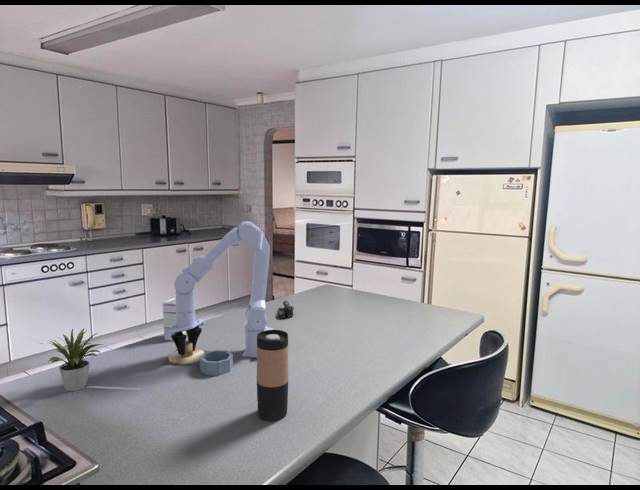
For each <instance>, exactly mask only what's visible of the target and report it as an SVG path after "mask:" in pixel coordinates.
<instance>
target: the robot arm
mask: <svg viewBox="0 0 640 490" xmlns="http://www.w3.org/2000/svg"><path fill="white" fill-rule="evenodd" d="M241 242H243V243H245V244H247V245H248V246H250V248H252V249H253V250H254V259H253V271H252V281H251V291H250V292H251V293H250V299H249V302H248V303H249V304H248V306H247V308H246V310H245V318H246V320H247V323H246V324H245V327H244V328H245V329H244V330H245V331H244V332H245V333H244V335H245V338H244V339H245V340H244V341H245V343H244V344H245V350H244V352H243V353H242V354H241V356H242V357H250V358H256V359H257V334H258V333H260V332H262V331H266V330H275V328H274V327H270V326H269V327H268V317H267V313H266V310H267V309H266V295H267V284H268V273H269V264H270V256H271V254H270V253H271V247H270V244H269V242H268V241H267V239H266V237H265V235H264V233H263V231H262V230H261V229H260V228H259V227H258V226H257V225H256V224H255V223H253V222H252V221H249V220H243V221H241V222H240V223H239V224H238V226H235V227H233V228H232V229H231V230H230V231H228V232H227V233H226V234H225V235H224V236H223V237H222V238H221V239H220V240H219V241H218V242H217V243H216V244H215V246H214V247H212V248H211V250H209V251H208V253H206V254H205V255H203V254H201V255H199V256H195V257H194V258H193V259H192V262H191V263H190V264H189V265H188V266H186V268H182V270H181V273H179V274H177V276H176V277H175V280H174V288H175V298H176V325H174V326H172V327H170V328H169V329H166V330H164V329H163V333H164V332H165V336H166V337H171V338H172V339H173V340H172V342H174V344H175V348H176V350H178V354H180V355H184V354H185V341H191V342H192V345H193V351H195V349H196V347H197V343H198V339H199V337H200V335H201V334H202V331H203V329H202V328H201V326H206V324H207V320H206V318H203V317H201V318H198V319H197V318H196V300H195V299H196V297H195V293H194V289H195V284H196V283H199V282H200V281H201V280H203V278H204V277H206V276H207V275H208V274H209V272H211V271H212V270H213V269H214V263H215V262H216V260H218V259H219V258H220V257H221V256H222V255H223V254H224V253H225V252H226V251H227V250H229V249H230V248H231V247H232V246H237V245H241V244H242V243H241ZM183 331H186V332H187V335H184V334H183V333H182V332H183Z"/></svg>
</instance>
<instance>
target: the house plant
mask: <svg viewBox="0 0 640 490" xmlns="http://www.w3.org/2000/svg"><path fill="white" fill-rule="evenodd" d="M70 332H71V333H70V339H69V338H68V336H67V335H65V334H64V333H62V336H63V338H64V340H62V338H61V337H58V336H56V338H58V339H61V340H62V341H63V343H64V345H65V346H66V347H67V348H64V347H63V345H61V343H59V342H58V341H56V340H55V339H51V338H50V340H48V344H50V345H52V346H54V347H55V348H57V349H56V351H57V352H59V353H61V354H62V355H63V356H64V357H65V358H66V360H67V361H66V360H65V359H62V358H60V357H57V356H53V357H50V358H49V360H48V363H49V362H50V364H53V363H54V362H55V363H56V362H59V361H60V362H61V361H62V362H64V363H63V364H61V365H60V366H59V367H58V369H59V372H60V376H61V379H62V383H63V386H64V390H65V391H67V392H78V391H79V390H83V389H84V388H86V387H87V384H88V381H89V380H88V379H89V378H88V377H89V372H90V370H89V369H90V361H88V360H87V359H85V358H87V357H92V356H95V357H99V356H98V355H97V353H101V351H100V350H98V349H91V348H95V347H97V346H102V345H105V344H104V343H101V344H100V343H97V344H96V343H95V344H90V345H89V342H92V341H93V339H92V338H93V337H94V336H96V335H98V332H96V333H94V334H92V335H91V336H89V338H88V339H87V340H86V341H84V342H83V343H82V340H83V338H84V335H85V334H86V332H87V329H86V330H85V328H82V329H81V330H80V331H79V333H78V334H77V337H76V338H75V339H74V328H71V330H70ZM40 344H43V342H41V343H39V345H40ZM86 345H87V346H86ZM90 349H91V350H90Z"/></svg>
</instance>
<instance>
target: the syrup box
mask: <svg viewBox="0 0 640 490" xmlns="http://www.w3.org/2000/svg"><path fill="white" fill-rule="evenodd" d="M162 317H163V334H164V335H163V337H164V340H165V341H166V340H167V341H173V339H172V338H171V337H166V336H165V332H164V330H166V329H169V328H170V327H172V326H174V325H176V297H174V298H170V299H167V300H166V301H163V302H162ZM182 333H183V334H184V335H187V332H186V331H183V332H182Z"/></svg>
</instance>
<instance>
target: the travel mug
mask: <svg viewBox="0 0 640 490" xmlns="http://www.w3.org/2000/svg"><path fill="white" fill-rule="evenodd" d="M288 395H289V334H288V332H286V331H285V330H282V329H274V330H266V331H262V332H260V333H258V334H257V358H256V399H257V415H258V417H259V418H260V419H261V420H263V421H267V422H277V421H281V420H282V419H284V418H285V417H286V416H287V414H288V401H289V398H288V397H289V396H288Z"/></svg>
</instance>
